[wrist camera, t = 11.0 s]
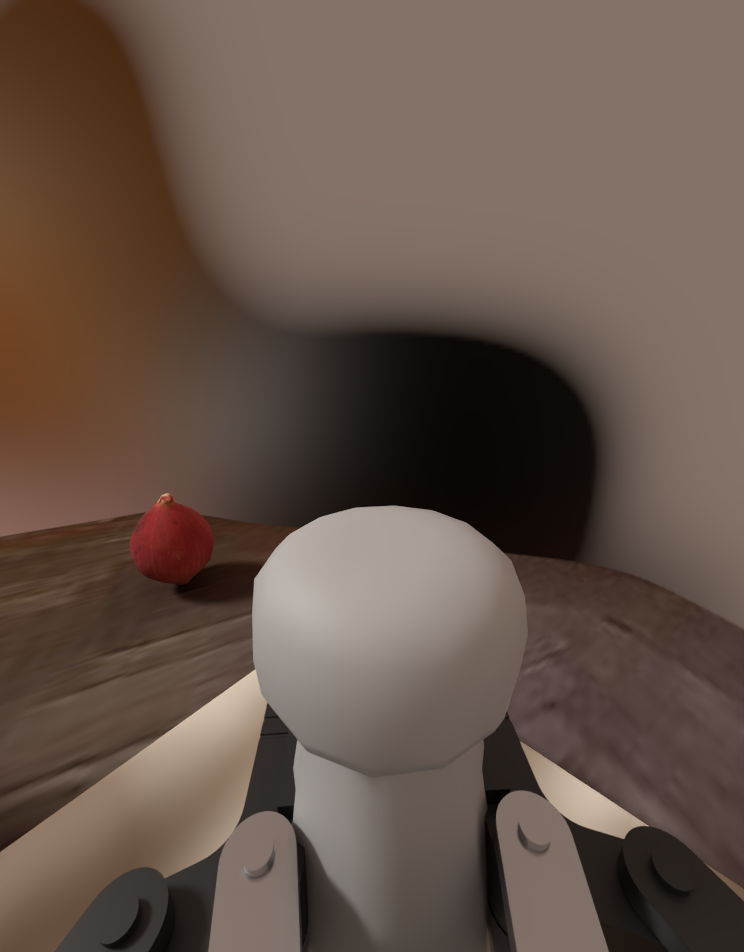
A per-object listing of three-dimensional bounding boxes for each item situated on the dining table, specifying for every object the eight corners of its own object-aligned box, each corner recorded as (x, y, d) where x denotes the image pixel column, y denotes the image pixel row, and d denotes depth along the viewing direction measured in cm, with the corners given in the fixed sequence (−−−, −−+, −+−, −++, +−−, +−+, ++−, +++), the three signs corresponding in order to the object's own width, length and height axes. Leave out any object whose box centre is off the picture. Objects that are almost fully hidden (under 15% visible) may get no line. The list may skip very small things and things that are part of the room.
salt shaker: (316, 819, 13) (277, 472, 9) (483, 844, 13) (529, 478, 8) (240, 1154, 8) (47, 676, 3) (528, 1232, 7) (739, 750, 3)
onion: (133, 613, 28) (105, 515, 25) (151, 570, 33) (130, 485, 30) (217, 597, 29) (199, 503, 27) (222, 558, 35) (207, 477, 32)
